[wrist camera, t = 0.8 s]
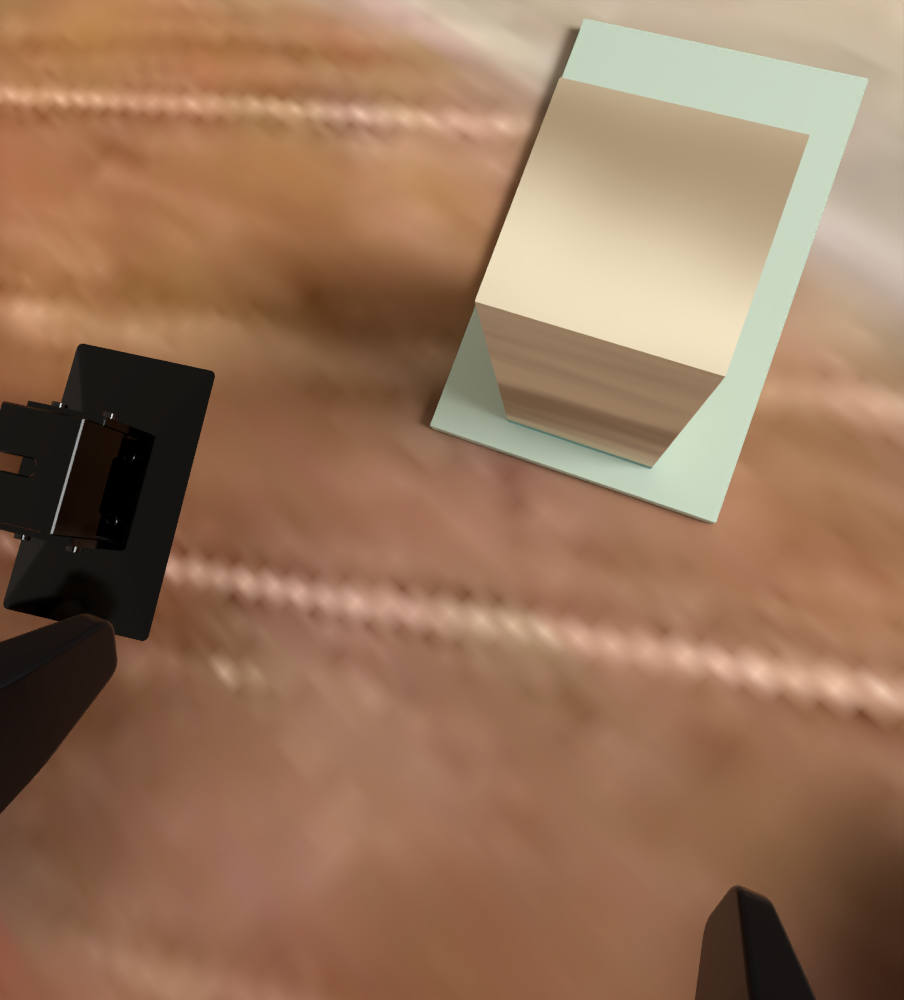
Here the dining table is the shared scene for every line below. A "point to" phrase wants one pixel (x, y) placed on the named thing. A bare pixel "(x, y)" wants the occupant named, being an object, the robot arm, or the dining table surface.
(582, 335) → the maple block
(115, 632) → the black boxy device
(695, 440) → the mat
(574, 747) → the dining table surface
